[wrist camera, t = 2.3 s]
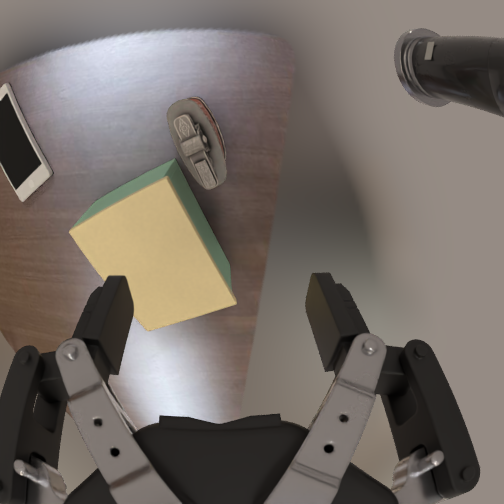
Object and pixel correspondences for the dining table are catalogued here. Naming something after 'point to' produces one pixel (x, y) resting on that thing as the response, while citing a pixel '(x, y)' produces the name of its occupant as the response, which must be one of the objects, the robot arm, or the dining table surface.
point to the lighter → (198, 141)
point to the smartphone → (19, 148)
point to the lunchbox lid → (155, 256)
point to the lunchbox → (187, 199)
